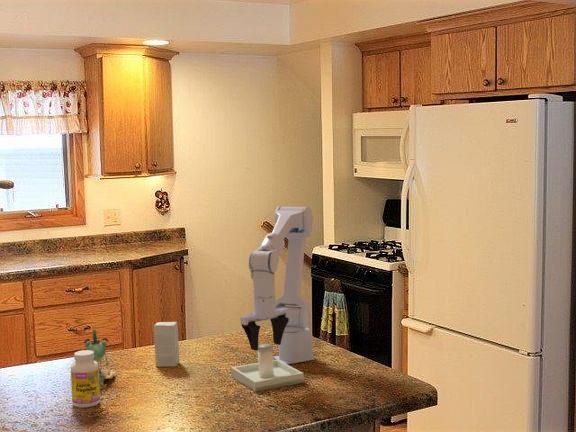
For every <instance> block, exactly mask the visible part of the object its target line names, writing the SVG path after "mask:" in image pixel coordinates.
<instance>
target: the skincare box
mask: <svg viewBox="0 0 576 432" xmlns="http://www.w3.org/2000/svg"><path fill="white" fill-rule="evenodd" d="M178 331H179V328H178V321H160V322H159V321H157V322H156V323H155V324H153V336H154V337H153V338H154V355H155V356H154V357H155V367H157V368H158V367H163V368H164V367H177V366H178V364H180V348H179V347H180V346H179V332H178Z"/></svg>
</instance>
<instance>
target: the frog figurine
mask: <svg viewBox="0 0 576 432" xmlns="http://www.w3.org/2000/svg"><path fill="white" fill-rule="evenodd" d="M107 343H109V339H108V338H107V337H103V338H102V341H101V342H100V339H98V335H97V330H96V329H92V340H90V339H89V338H87V339H85V340H84V342H83V344H84V347H85V348H86V350H91V351H94V358H93V360H94V361H96V362H97V363H98V365H99V366H100V365H102V361H101V360H102V359H103V358H104V356H105V362H106V366H109V362H108V358H107V357H108V356H107V353H106V347H107ZM115 375H116V371H114V369H103V366H100V368H99V384H100V390H103V389H105V388H107V385H108V383H105V382H104V381H105V380H107V379H109V380H111V379H112V378H113V377H114V376H115Z"/></svg>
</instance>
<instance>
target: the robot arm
mask: <svg viewBox="0 0 576 432" xmlns="http://www.w3.org/2000/svg"><path fill="white" fill-rule="evenodd" d="M273 218H274V223H275V224H274V227H273V228H272V232H270V233H267V234H266V235H265V237H264V239H263V240H262V241H261V244H260V245H259V247H258V249H257V250H254V251H253V252H251V253H250V254H249V257H248V263H247V264H248V269H249V273H250V278H251V280H252V287H253V288H252V289H253V293H252V294H253V311H252V312H251V313H248V314H246V315H242V316H240V325H241V327H242V329H243V331H244V332H245V334H246V337H247V339H248V343H249V346H250V349H251V350H252V351H257V350H258V345H259V333H260V329H261V325H258V324H257V323H258V322H262V321H266V320H267V321H268V320H269V321H270V323H271V327H272V338H273V339H272V340H273V344H274V345H278V355H276V356H274V355H273V360H276V359H278V360H280V361H282V362H283V363H285V364H287V365H291V364H292V365H293V364H297V363H304V362H309V361H314V360H315V357H314V345H313V344H314V342H313V333H312V331H311V329H310V328H309V327H308V326H309V322H310V311H309V310H310V305H309V303H308V301H307V300H306V299H305V298H304V297H302V296H301V290H302V282H303V281H302V280H303V272H304V271H303V270H304V269H303V268H304V258H305V248H306V241H307V239H308V238H310V237H311V236H312V231H313V223H314V222H313V220H314V219H313V218H314V216H313V211H312V209H311V208H310V206H282V205H278V206H277V208H276V209H275V211H274V217H273ZM285 238H286V239H287V241H288V243H287V254H286V263H285V275H284V283H283V284H284V285H283V293H282V295H281V296H279V297H278V298H276V278H275V277H276V272H277V270H278V267H279V266H278V265H279V261H280V255H281V254H282V252H283V249H284V248H285V244H286V243H285ZM257 352H258V351H257Z"/></svg>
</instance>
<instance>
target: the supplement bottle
mask: <svg viewBox="0 0 576 432" xmlns="http://www.w3.org/2000/svg"><path fill="white" fill-rule="evenodd" d="M73 358H74V360H75V362H73V363H72V364H71V366H70V380H71V381H70V382H71V403H72V405H73V406H74V407H75V408H80V409H82V408H83V409H85V408H91V407H94V406H97V405H98V404H99V403H100V402H101V389H100V381H99V369H100V364H99V365H98V361H94V360H93V358H94V351H91V350H87V349H86V350H85V349H84V350H83V349H82V350H79V351H76V352H74V355H73Z"/></svg>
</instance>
